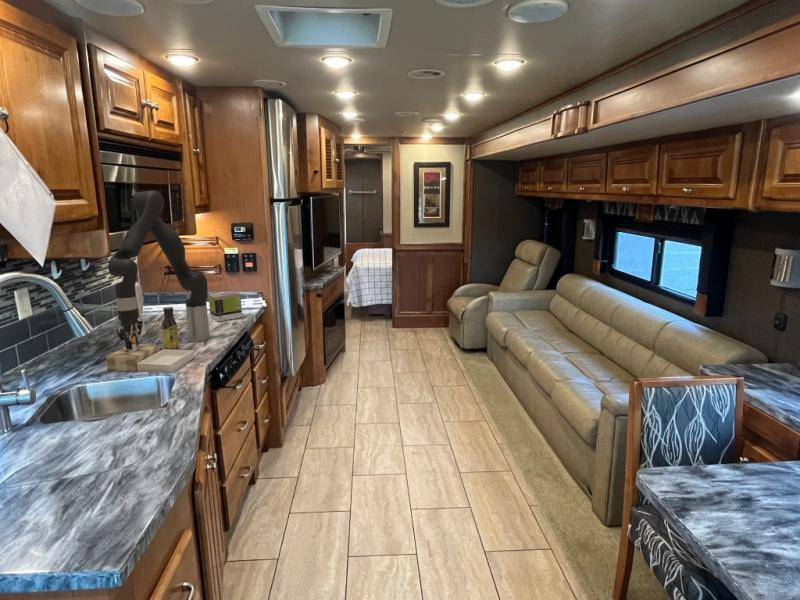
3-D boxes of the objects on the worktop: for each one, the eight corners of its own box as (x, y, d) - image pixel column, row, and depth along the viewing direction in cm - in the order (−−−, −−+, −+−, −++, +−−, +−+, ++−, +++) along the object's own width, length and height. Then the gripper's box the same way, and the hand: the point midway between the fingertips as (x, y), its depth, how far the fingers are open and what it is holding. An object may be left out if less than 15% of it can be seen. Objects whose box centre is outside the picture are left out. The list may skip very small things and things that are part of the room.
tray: (164, 356, 208) (163, 349, 207) (194, 358, 206) (193, 350, 205) (137, 371, 190) (136, 363, 189) (170, 373, 189) (169, 365, 188)
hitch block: (133, 357, 207) (131, 343, 206) (159, 358, 206) (157, 345, 204) (107, 370, 192) (105, 356, 190) (135, 371, 190) (133, 357, 189)
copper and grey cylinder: (133, 362, 200) (130, 335, 198) (140, 362, 200) (137, 335, 197) (128, 365, 197) (125, 337, 195) (135, 365, 197) (132, 337, 194)
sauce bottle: (173, 352, 213) (168, 309, 208) (160, 351, 214) (156, 309, 210) (182, 348, 219) (178, 306, 215) (170, 347, 220) (166, 305, 216)
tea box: (236, 315, 280) (234, 290, 276) (242, 318, 272) (241, 293, 269) (210, 319, 270) (208, 293, 267) (216, 322, 263) (214, 296, 259)
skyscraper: (141, 337, 235) (135, 281, 229) (126, 337, 235) (119, 281, 229) (150, 332, 243) (144, 279, 237) (135, 332, 243) (129, 278, 237)
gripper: (130, 303, 201) (135, 342, 204) (106, 311, 187) (112, 353, 191) (147, 304, 200) (151, 343, 204) (124, 312, 186) (129, 353, 190)
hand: (132, 347), depth 197 cm, fingers closed on copper and grey cylinder, 3 cm apart
